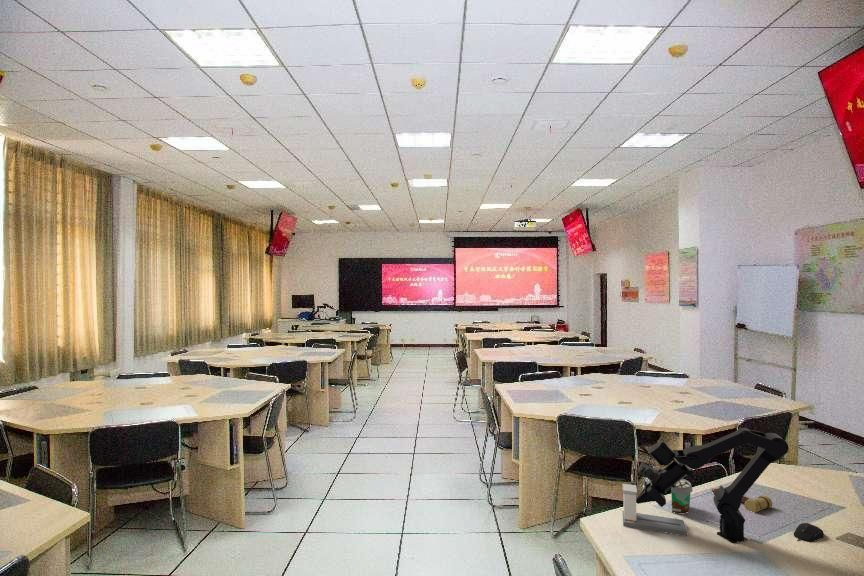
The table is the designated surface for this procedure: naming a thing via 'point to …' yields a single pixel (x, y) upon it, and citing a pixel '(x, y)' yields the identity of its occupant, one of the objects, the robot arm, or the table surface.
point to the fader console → (657, 524)
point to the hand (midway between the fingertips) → (636, 502)
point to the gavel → (755, 502)
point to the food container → (681, 496)
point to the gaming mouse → (808, 532)
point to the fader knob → (629, 501)
